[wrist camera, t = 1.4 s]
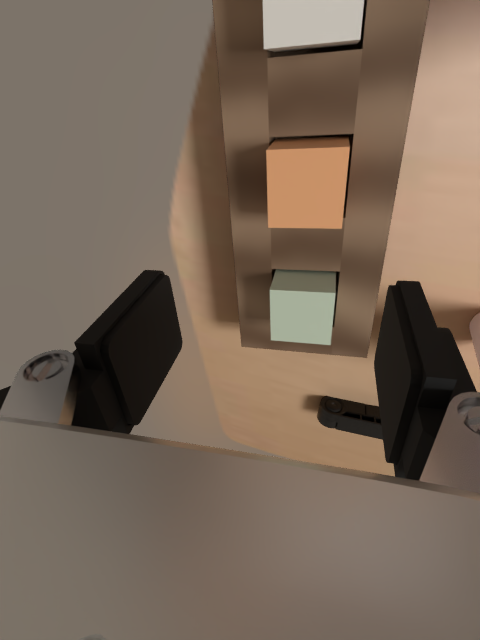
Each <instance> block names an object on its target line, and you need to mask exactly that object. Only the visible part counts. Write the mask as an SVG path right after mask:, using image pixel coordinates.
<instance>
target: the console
mask: <svg viewBox="0 0 480 640" xmlns="http://www.w3.org/2000/svg"><path fill="white" fill-rule="evenodd" d="M212 2H213V14H214V26H215V38H216V50H217V61H218V73H219V85H220V97H221V109H222V121H223V133H224V144H225V156H226V168H227V180H228V192H229V204H230V215H231V227H232V239H233V251H234V263H235V275H236V287H237V298H238V310H239V322H240V334H241V346H242V347H251V348H262V349H274V350H285V351H296V352H307V353H318V354H330V355H341V356H352V357H363V358H367V354H368V348H369V343H370V337H371V331H372V326H373V320H374V314H375V309H376V303H377V297H378V292H379V286H380V280H381V275H382V269H383V263H384V257H385V252H386V246H387V240H388V235H389V229H390V223H391V218H392V212H393V206H394V201H395V195H396V189H397V184H398V178H399V172H400V167H401V161H402V155H403V150H404V144H405V138H406V133H407V127H408V121H409V116H410V110H411V104H412V99H413V93H414V87H415V81H416V76H417V70H418V64H419V59H420V53H421V47H422V42H423V36H424V30H425V25H426V19H427V13H428V8H429V2H430V0H364V7H363V17H362V27H361V38H360V41H359V42H358V43H357V44H354V45H343V46H333V47H323V48H313V49H302V50H292V51H282V52H272V51H269V50H265V49H264V35H263V0H212ZM342 136H348V138H349V145H350V151H349V161H348V171H347V181H346V192H345V202H344V212H343V222H342V229H324V228H268V201H267V160H266V150H267V149H268V147H269V146H270V145H271V144H272V143H273V142H274V141H275V140H276V139H295V138H318V137H342ZM276 269H287V270H313V271H336V294H335V304H334V315H333V325H332V335H331V345H322V344H310V343H298V342H286V341H274V340H271V325H270V287H271V284H272V281H273V277H274V274H275V271H276Z"/></svg>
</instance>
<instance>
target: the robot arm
mask: <svg viewBox="0 0 480 640" xmlns="http://www.w3.org/2000/svg"><path fill="white" fill-rule="evenodd" d="M75 346H76V348H77V349H76V350H75V351H74V352H73V353H71V352H69V351H67V350H52V351H48V352H44V353H42V354H39V355H37V356H35V357H33V358H31V359H30V360H28V361H27V362H26V363H25V364H23V365H22V366H21V368H20V369H19V371H18V372H17V374H16V376H15V379H14V381H13V383H12V385H11V386H9V387H7V388H4V389H2V390H0V640H480V392H477V391H476V389H475V386H474V384H473V382H472V379H471V377H470V375H469V372H468V370H467V368H466V365H465V363H464V361H463V358H462V356H461V354H460V352H459V349H458V347H457V345H456V342H455V340H454V338H453V335H452V333H451V331H450V330H449V329H448V328H438V327H437V326H436V323H435V321H434V318H433V315H432V313H431V310H430V308H429V305H428V302H427V300H426V297H425V295H424V292H423V289H422V287H421V284H420V282H418V281H397V283H396V285H389V287H388V291H387V296H386V301H385V307H384V312H383V317H382V322H381V328H380V333H379V338H378V343H377V348H376V354H375V361H374V369H375V377H376V385H377V393H378V401H379V409H380V418H381V426H382V434H383V442H384V450H385V458H386V462H387V463H394V470H395V477H394V476H388V475H382V474H377V473H371V472H365V471H359V470H353V469H347V468H341V467H334V466H328V465H322V464H316V463H310V462H303V461H297V460H291V459H285V458H278V457H272V456H266V455H259V454H253V453H247V452H241V451H234V450H227V449H222V448H215V447H209V446H202V445H196V444H190V443H183V442H176V441H170V440H163V439H157V438H151V437H144V436H137V435H131V434H130V432H131V430H132V428H133V427H134V425H138V424H139V423H140V422H141V420H142V418H143V417H144V415H145V413H146V411H147V409H148V408H149V406H150V404H151V402H152V400H153V399H154V397H155V395H156V393H157V391H158V390H159V388H160V386H161V384H162V383H163V381H164V379H165V377H166V376H167V374H168V372H169V370H170V368H171V367H172V365H173V363H174V361H175V359H176V358H177V356H178V354H179V352H180V350H181V348H182V337H181V332H180V327H179V322H178V317H177V312H176V307H175V302H174V297H173V292H172V287H171V282H170V278H169V276H167V275H165V274H164V272H163V271H156V270H155V271H154V270H145V271H143V272H142V273H141V274H140V275H139V276H138V277H137V278H136V279H135V281H133V282H132V284H131V285H130V286H129V287H128V288H127V289H126V290H125V291H124V292H123V293H122V294H121V295H120V296H119V297H118V298H117V299H116V300H115V301H114V302H113V303H112V304H111V305H110V306H109V307H108V308H107V309H106V310H105V311H104V313H103V314H102V315H101V316H100V317H99V318H98V319H97V320H96V321H95V322H94V323H93V324H92V325H91V326H90V327H89V328H88V329H87V330H86V331H85V332H84V333H83V334H82V335H81V336H80V337H79V338H78V339H77V340H76V341H75ZM111 431H112V432H111Z"/></svg>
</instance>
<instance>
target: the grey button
mask: <svg viewBox="0 0 480 640" xmlns="http://www.w3.org/2000/svg"><path fill="white" fill-rule="evenodd" d="M363 7H364V0H263V35H264V49H265V50H269V51H272V52H282V51H292V50H302V49H313V48H323V47H333V46H343V45H354V44H357V43H358V42H359V41H360V38H361V27H362V17H363Z"/></svg>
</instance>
